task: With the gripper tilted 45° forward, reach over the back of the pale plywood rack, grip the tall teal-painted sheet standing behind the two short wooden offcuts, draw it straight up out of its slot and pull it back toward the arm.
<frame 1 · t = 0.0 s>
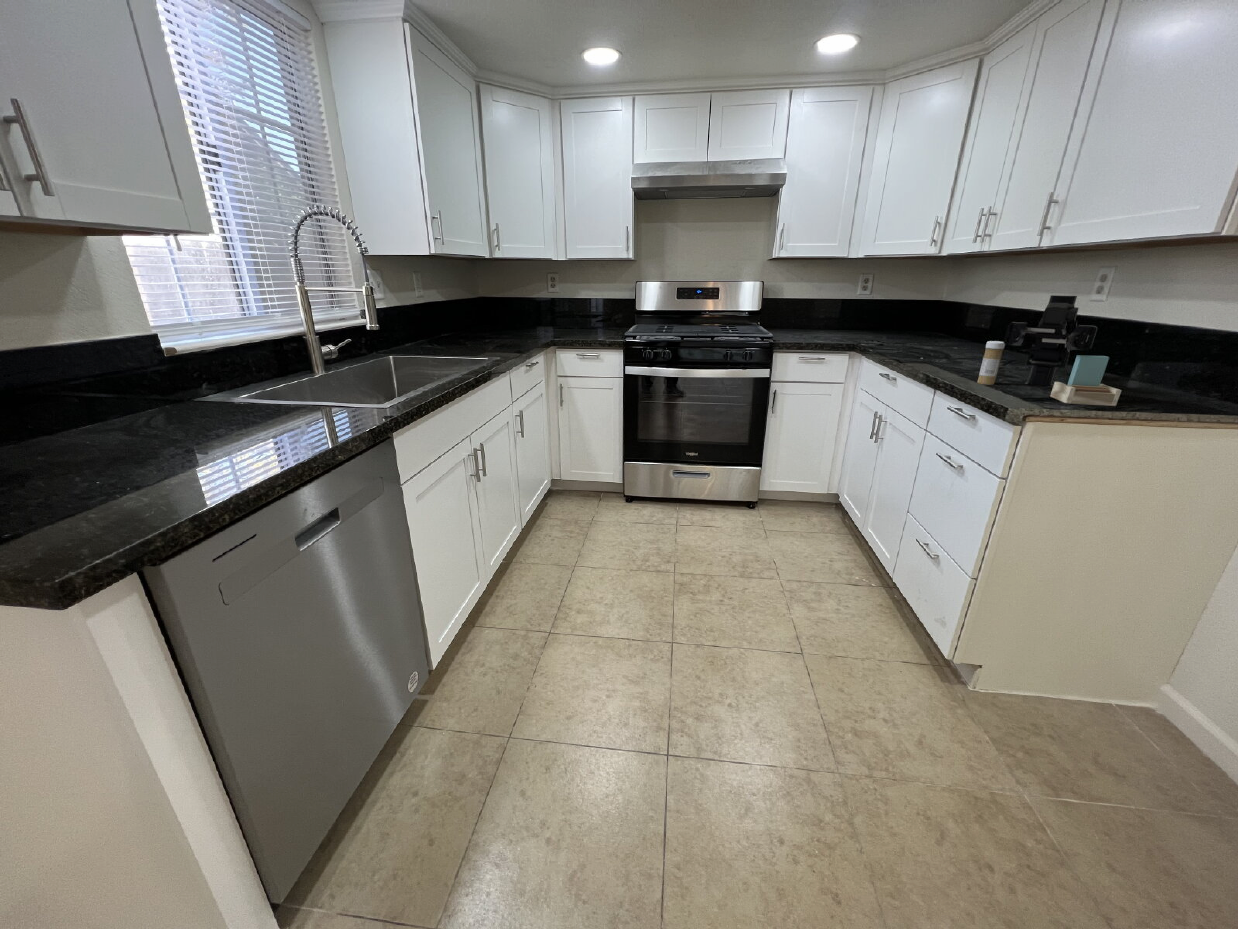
hand: (1044, 338, 129), 17 cm above the countertop, tool horizontal, fingers open, 9 cm apart
offcut stack: (1084, 401, 130), point 1 cm above the countertop, touching board rack
board rack: (1080, 403, 131), on the countertop
sprinkles bottle: (984, 386, 153), on the countertop
tall sheet: (1078, 399, 132), point 1 cm above the countertop, touching board rack
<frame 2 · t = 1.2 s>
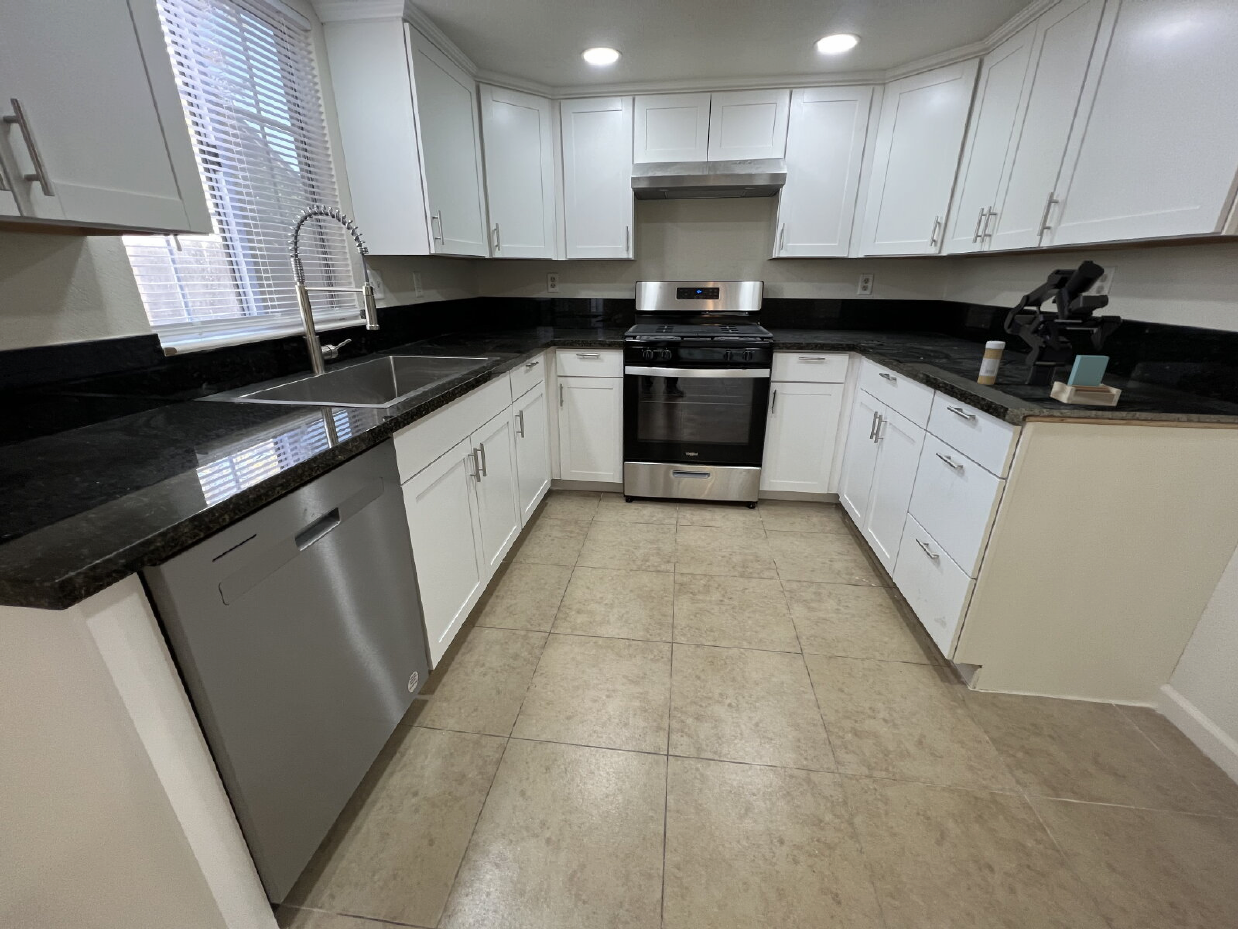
hand: (1078, 349, 134), 13 cm above the countertop, tool tilted 45°, fingers open, 9 cm apart
nothing on the countertop moved.
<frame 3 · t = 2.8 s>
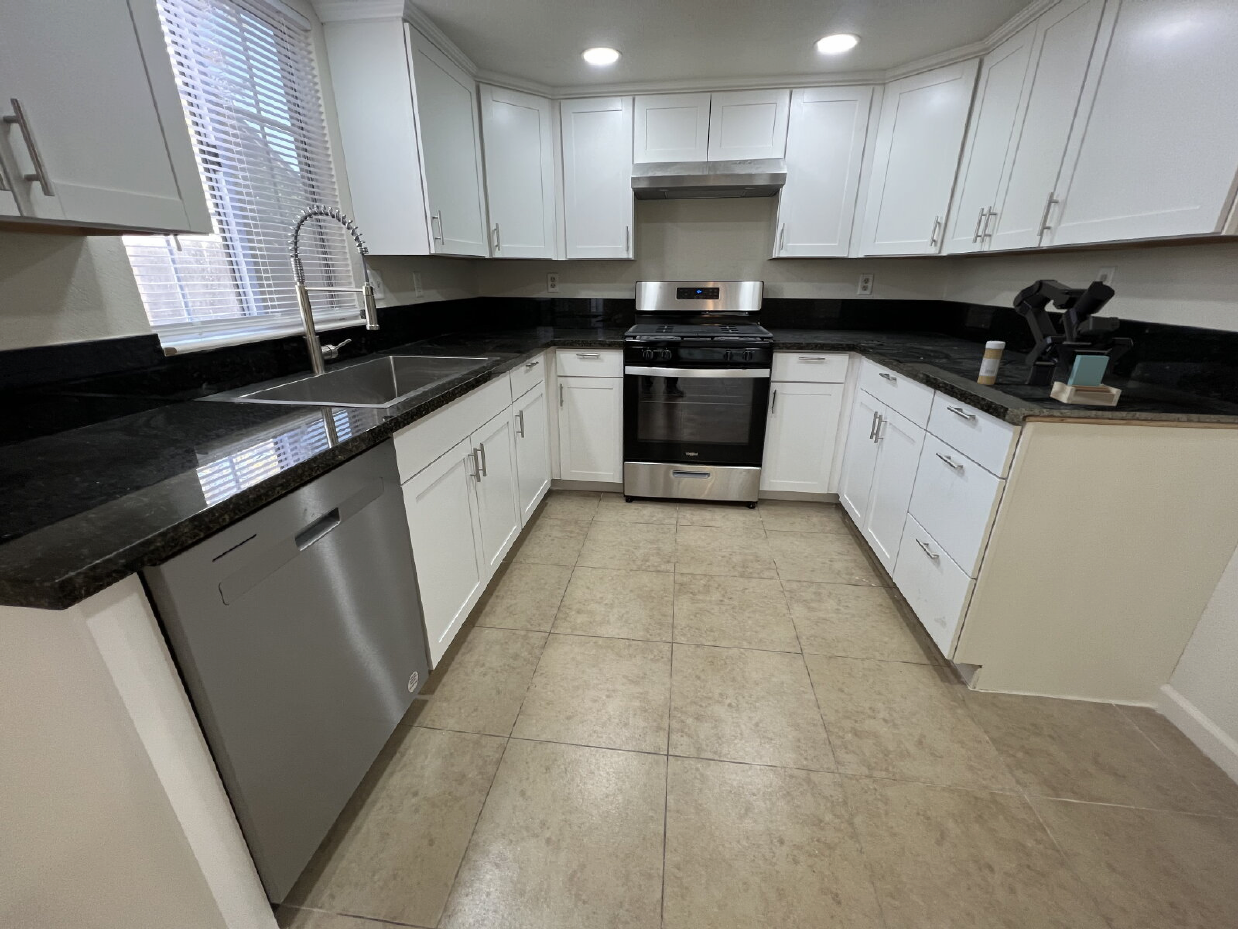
hand: (1088, 373, 129), 8 cm above the countertop, tool tilted 45°, fingers open, 9 cm apart
nothing on the countertop moved.
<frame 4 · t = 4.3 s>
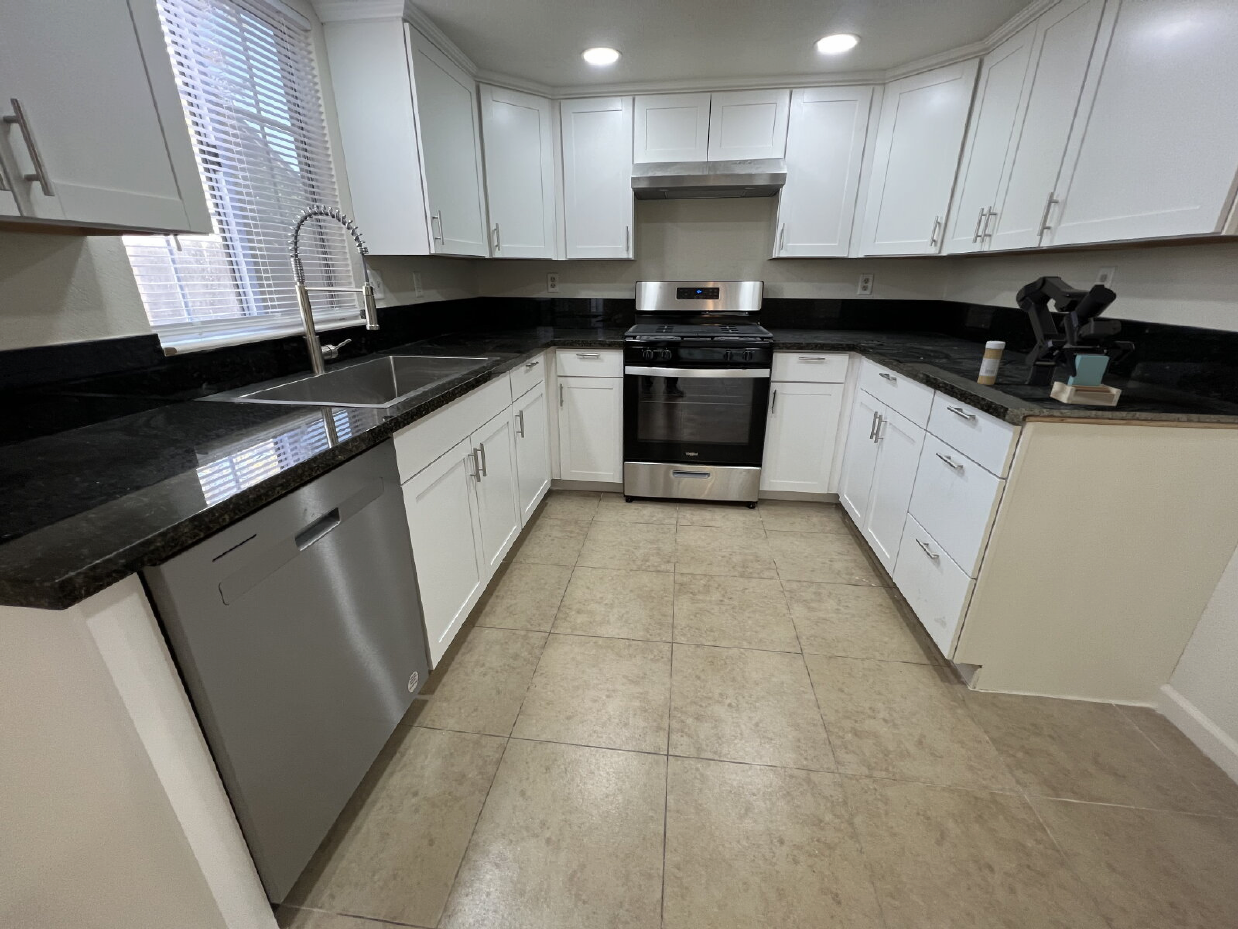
hand: (1089, 377, 129), 7 cm above the countertop, tool tilted 45°, fingers closed on tall sheet, 6 cm apart
tall sheet: (1078, 399, 132), point 1 cm above the countertop, touching board rack, gripper
everything else where it was.
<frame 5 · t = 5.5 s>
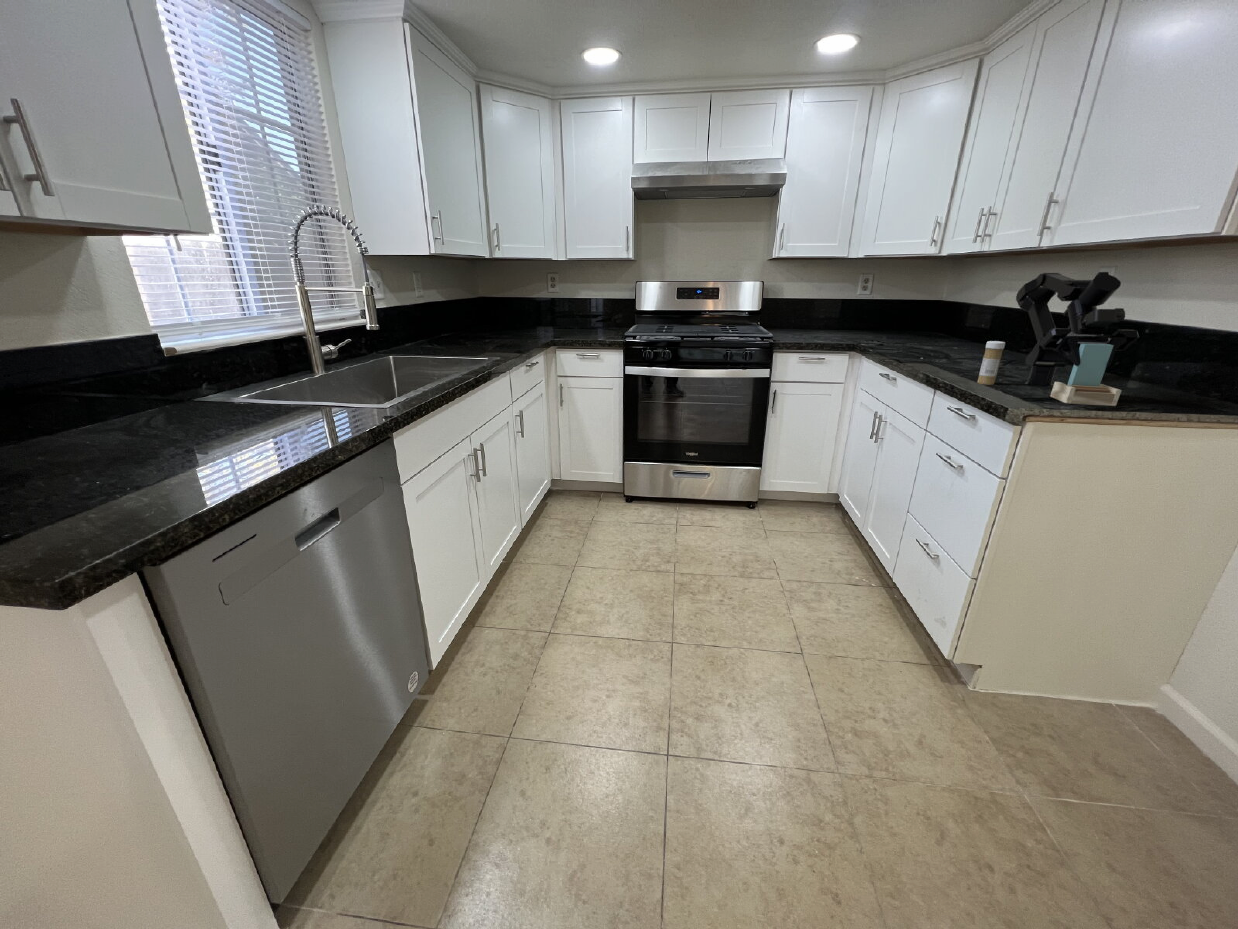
hand: (1093, 365, 128), 10 cm above the countertop, tool tilted 45°, fingers closed on tall sheet, 6 cm apart
tall sheet: (1082, 388, 131), point 4 cm above the countertop, touching gripper
everything else where it was.
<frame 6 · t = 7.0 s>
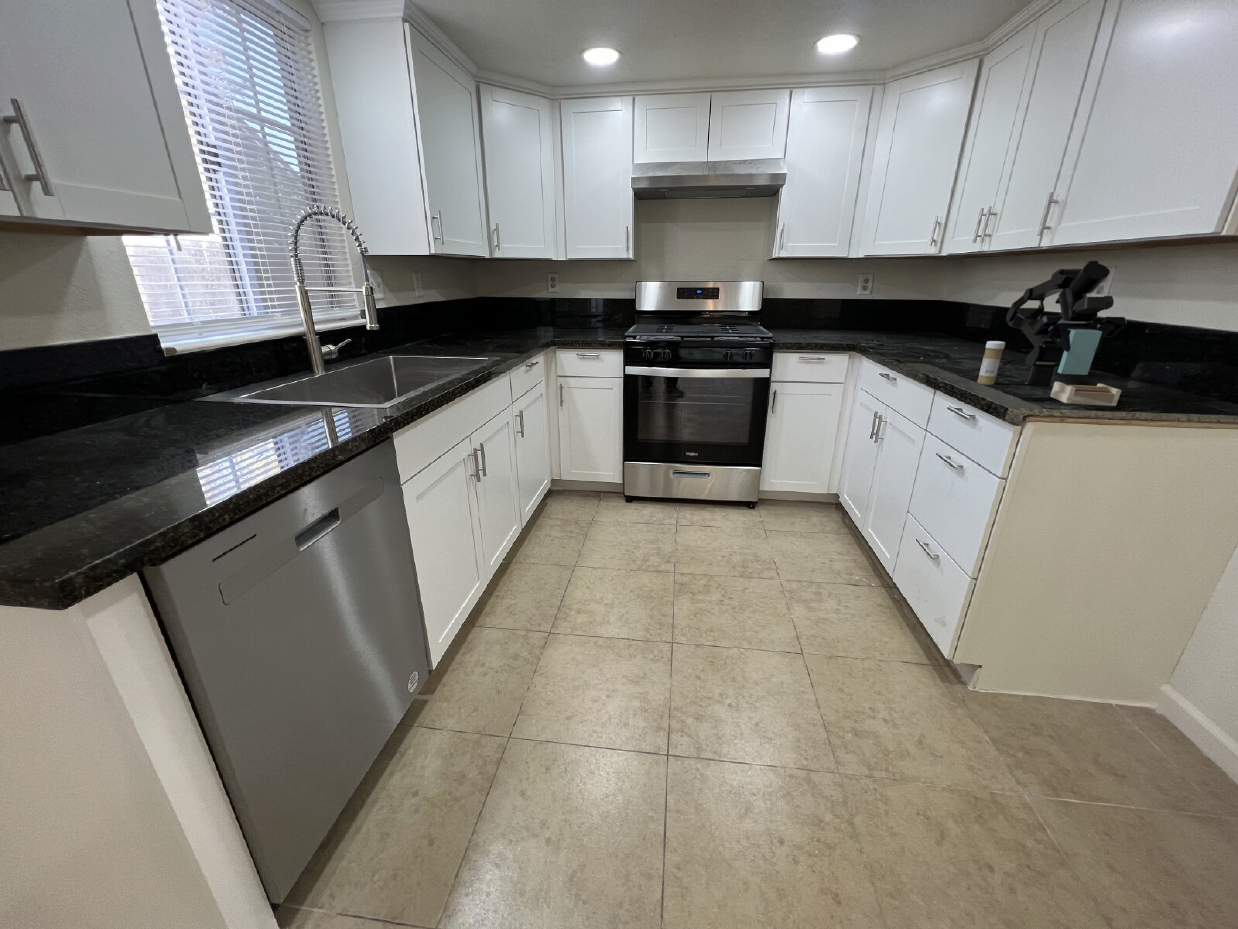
hand: (1082, 351, 132), 13 cm above the countertop, tool tilted 45°, fingers closed on tall sheet, 6 cm apart
tall sheet: (1072, 373, 136), point 7 cm above the countertop, touching gripper
everything else where it was.
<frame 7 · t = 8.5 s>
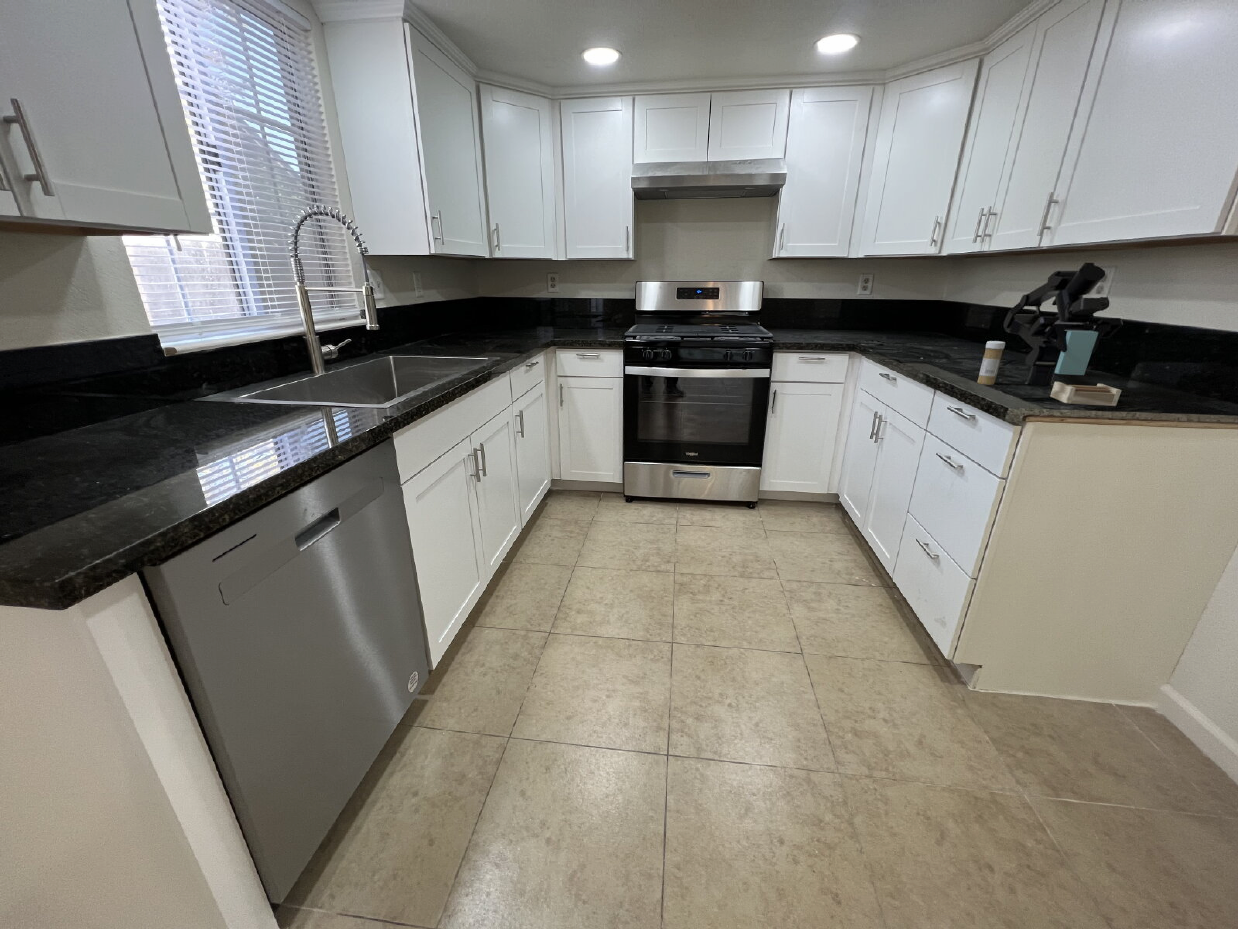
hand: (1079, 351, 134), 13 cm above the countertop, tool tilted 45°, fingers closed on tall sheet, 6 cm apart
tall sheet: (1069, 373, 137), point 6 cm above the countertop, touching gripper
everything else where it was.
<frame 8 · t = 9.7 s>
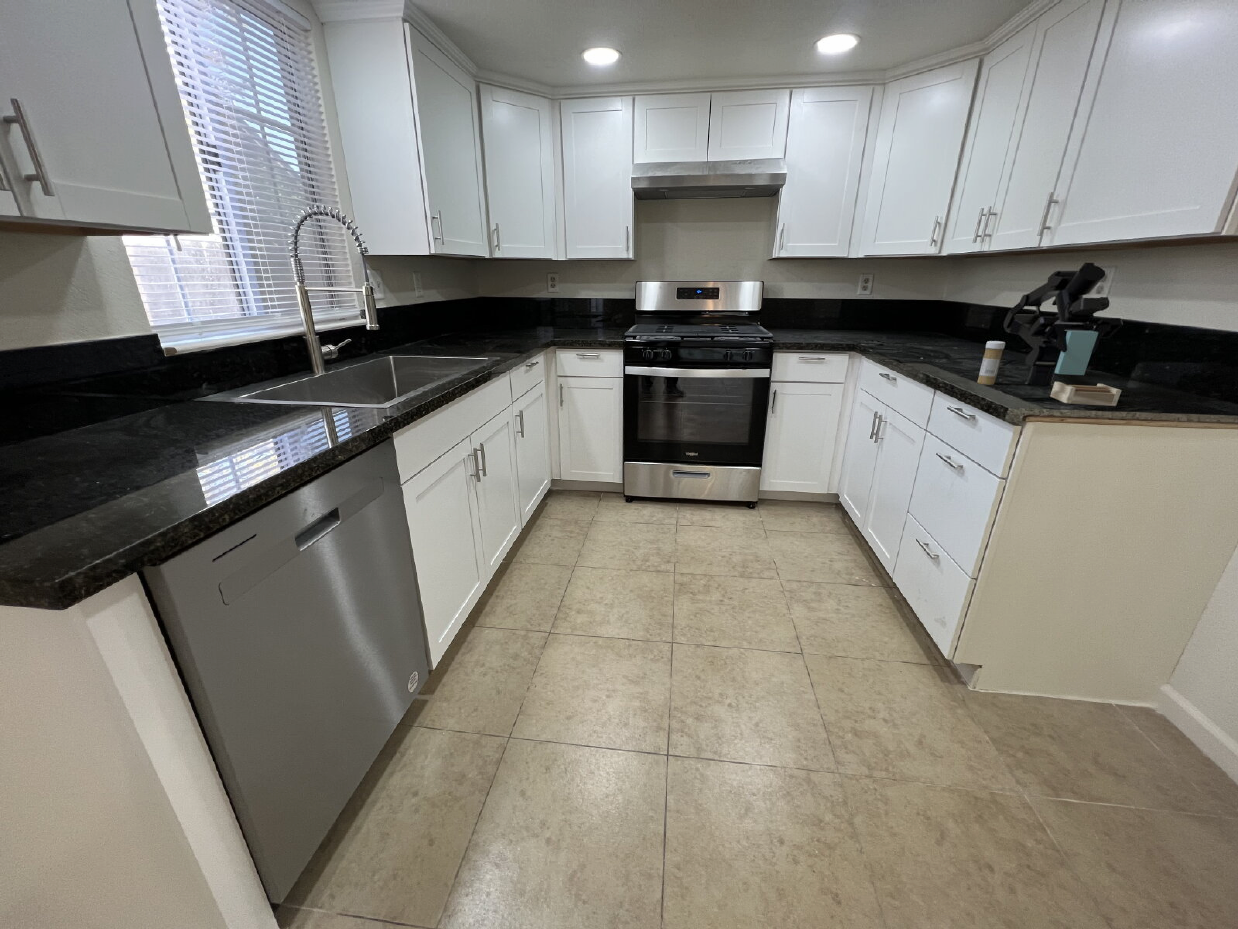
hand: (1079, 351, 134), 13 cm above the countertop, tool tilted 45°, fingers closed on tall sheet, 6 cm apart
tall sheet: (1069, 373, 137), point 6 cm above the countertop, touching gripper
everything else where it was.
at the end: the gripper is holding tall sheet; tall sheet point 6.2 cm above the countertop; tall sheet moved 9.7 cm from its start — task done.
